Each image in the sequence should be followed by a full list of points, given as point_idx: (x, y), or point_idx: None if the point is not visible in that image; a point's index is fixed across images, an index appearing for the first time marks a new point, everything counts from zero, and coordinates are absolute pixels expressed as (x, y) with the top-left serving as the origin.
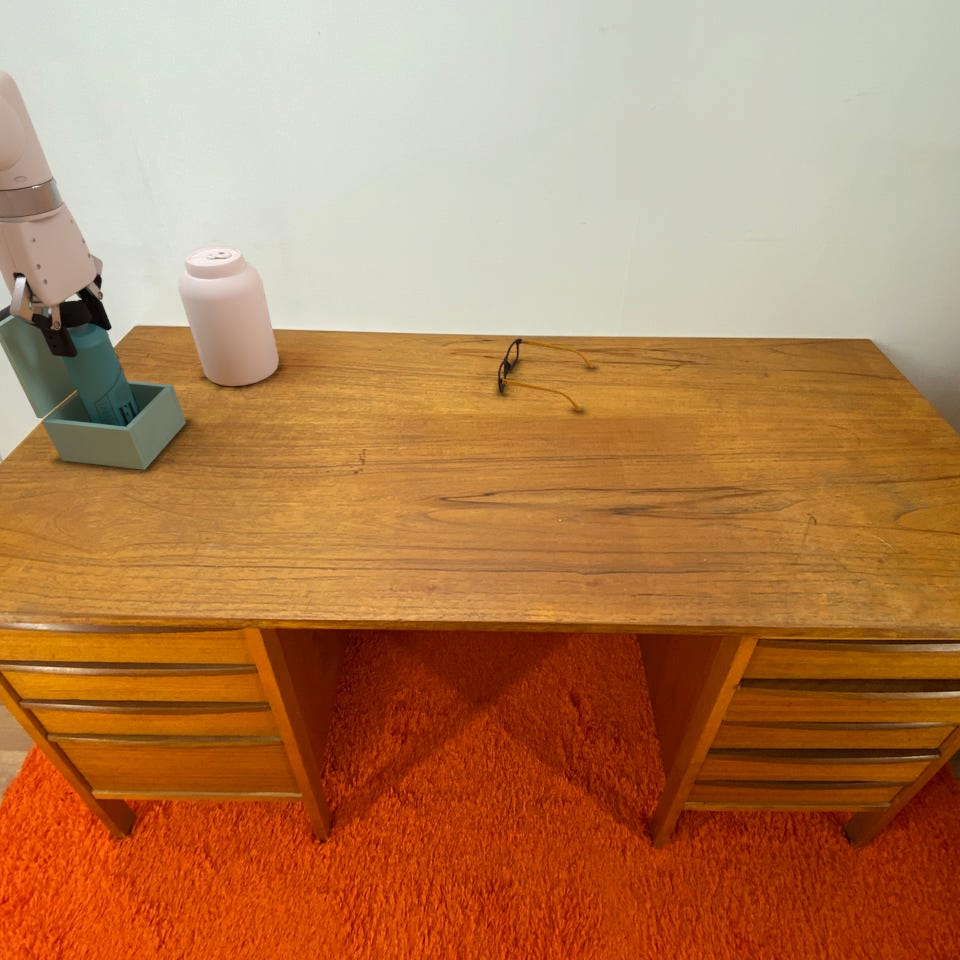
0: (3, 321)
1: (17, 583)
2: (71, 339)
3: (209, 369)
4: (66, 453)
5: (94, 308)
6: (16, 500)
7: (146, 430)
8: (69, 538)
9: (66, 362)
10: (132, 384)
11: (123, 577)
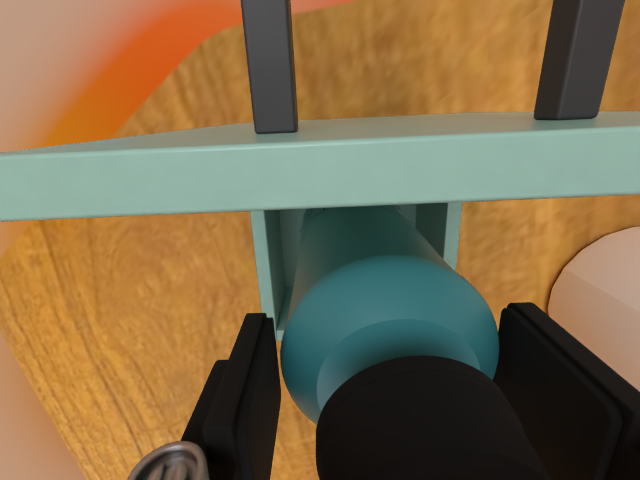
0: (105, 178)
1: (9, 265)
2: (271, 457)
3: (582, 288)
4: None
5: (565, 469)
6: (140, 128)
7: None
8: (106, 276)
9: (294, 291)
10: (443, 244)
11: (82, 379)
